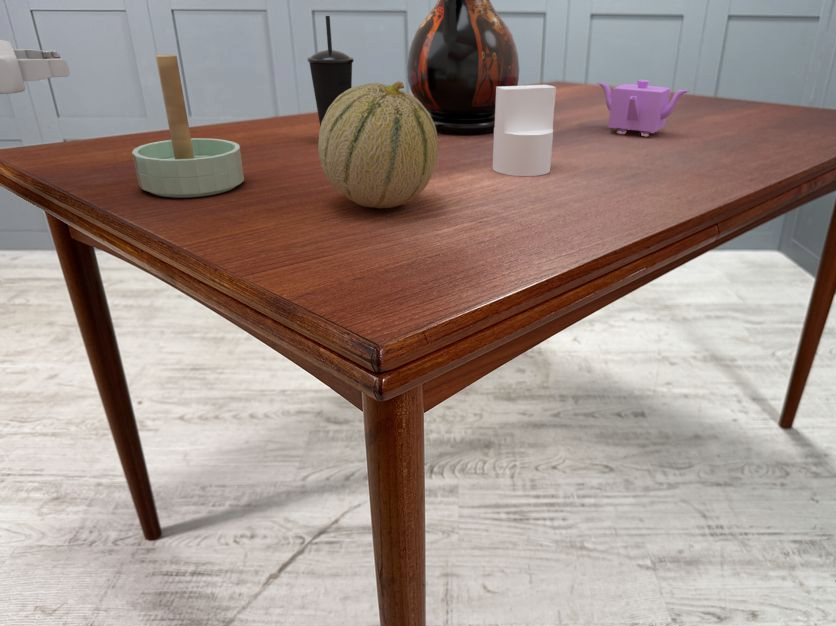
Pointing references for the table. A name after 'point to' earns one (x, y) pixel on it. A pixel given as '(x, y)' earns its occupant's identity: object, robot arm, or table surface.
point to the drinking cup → (329, 74)
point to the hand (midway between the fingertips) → (64, 62)
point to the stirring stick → (175, 106)
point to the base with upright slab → (523, 130)
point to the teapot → (639, 106)
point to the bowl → (189, 168)
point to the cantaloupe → (378, 145)
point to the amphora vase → (462, 65)
